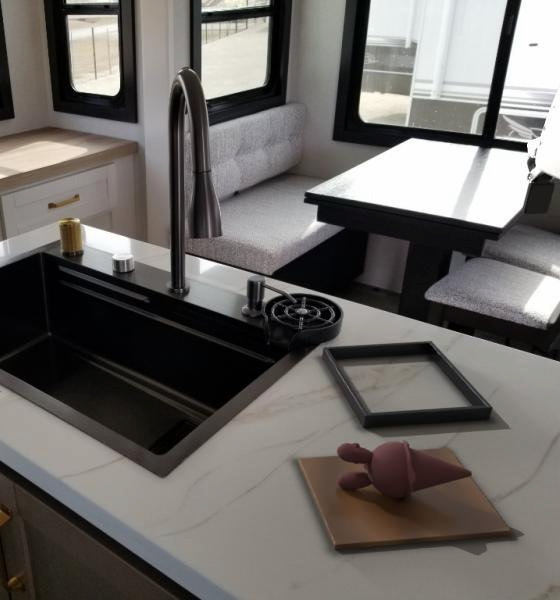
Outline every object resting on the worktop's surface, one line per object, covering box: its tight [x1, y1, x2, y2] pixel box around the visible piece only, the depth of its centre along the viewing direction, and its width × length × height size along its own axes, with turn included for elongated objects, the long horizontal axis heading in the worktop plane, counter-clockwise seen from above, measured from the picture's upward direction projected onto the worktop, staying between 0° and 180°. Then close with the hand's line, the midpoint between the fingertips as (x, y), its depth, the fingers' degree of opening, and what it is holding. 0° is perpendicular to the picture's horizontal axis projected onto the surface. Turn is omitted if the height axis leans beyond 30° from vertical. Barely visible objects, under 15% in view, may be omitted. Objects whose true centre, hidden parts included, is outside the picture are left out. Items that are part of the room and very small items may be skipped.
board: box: [297, 447, 511, 551], centre depth 76 cm, size 20×14×1 cm
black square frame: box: [321, 340, 493, 429], centre depth 96 cm, size 18×18×2 cm
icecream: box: [336, 439, 473, 501], centre depth 75 cm, size 7×7×15 cm
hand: (558, 226), depth 78 cm, fingers open, 9 cm apart
